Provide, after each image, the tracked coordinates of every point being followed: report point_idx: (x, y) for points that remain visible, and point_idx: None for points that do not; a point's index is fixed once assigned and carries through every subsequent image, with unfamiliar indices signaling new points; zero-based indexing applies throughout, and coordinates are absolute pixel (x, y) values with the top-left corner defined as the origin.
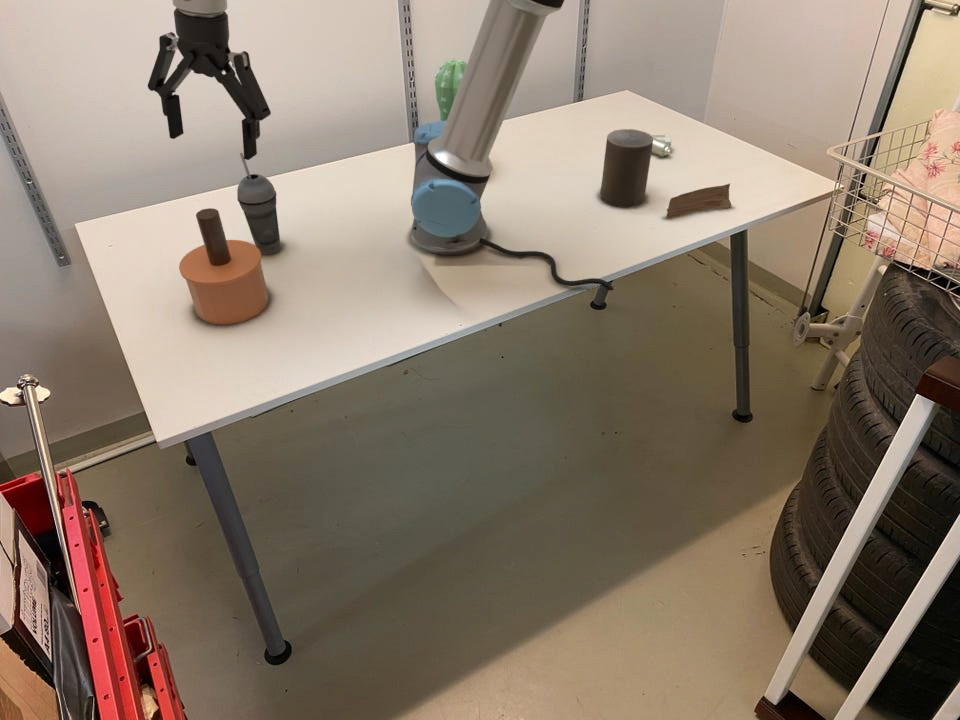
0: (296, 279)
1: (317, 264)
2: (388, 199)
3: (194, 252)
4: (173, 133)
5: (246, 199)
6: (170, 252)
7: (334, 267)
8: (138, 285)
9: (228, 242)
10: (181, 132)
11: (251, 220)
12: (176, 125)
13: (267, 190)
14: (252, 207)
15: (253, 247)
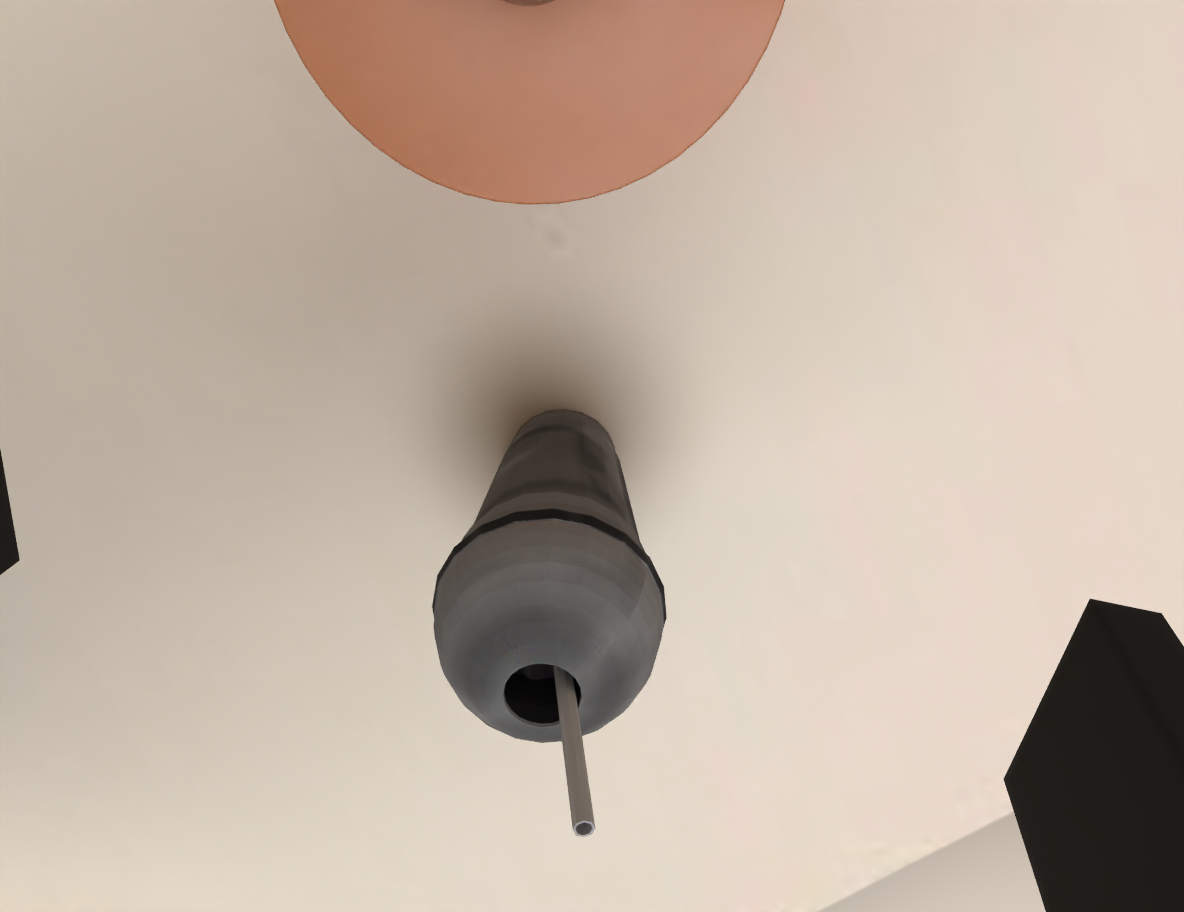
0: (319, 222)
1: (279, 360)
2: (215, 853)
3: (745, 5)
4: (1117, 660)
5: (562, 534)
6: (1029, 369)
7: (188, 346)
8: (1109, 54)
9: (570, 166)
10: (1027, 771)
11: (576, 479)
12: (1110, 811)
13: (443, 617)
14: (536, 507)
15: (381, 126)
